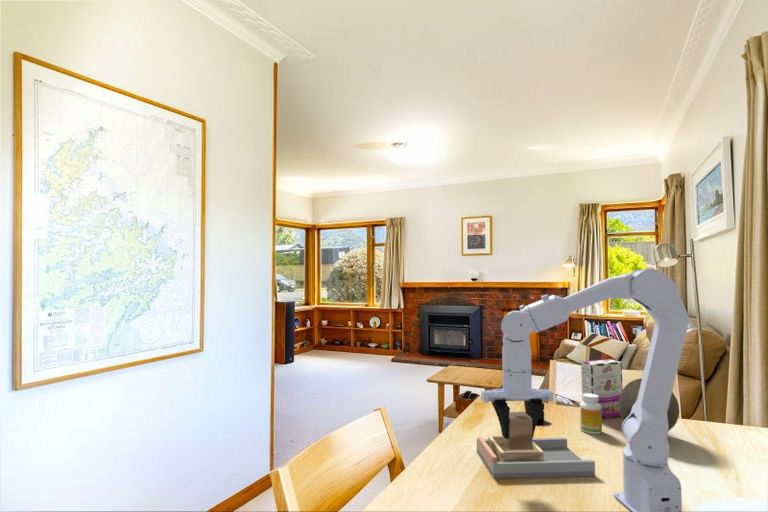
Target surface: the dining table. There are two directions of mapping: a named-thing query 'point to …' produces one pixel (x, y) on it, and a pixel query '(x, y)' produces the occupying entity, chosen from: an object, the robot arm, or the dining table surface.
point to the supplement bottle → (590, 414)
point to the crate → (513, 451)
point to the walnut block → (519, 431)
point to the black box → (542, 421)
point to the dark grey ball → (630, 397)
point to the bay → (554, 465)
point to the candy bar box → (603, 384)
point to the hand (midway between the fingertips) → (517, 436)
